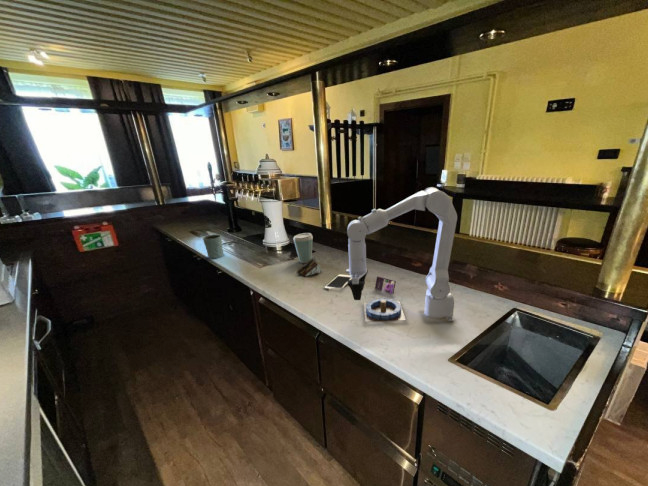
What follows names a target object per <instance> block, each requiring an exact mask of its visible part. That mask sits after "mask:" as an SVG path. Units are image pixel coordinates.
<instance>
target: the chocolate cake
mask: <svg viewBox="0 0 648 486" xmlns="http://www.w3.org/2000/svg"><path fill="white" fill-rule="evenodd" d="M295 272H296V274H297V275H301V276H303V277H304V278H305V277H309V276H314V275H315V274H320V273H321V272H322V269H321V266H320V264H318V262H317V260H316V258H315V256H312V259H310V260H309V261H308V262H307V263H303V264H302V265H301V266H300V267H299V268H297V270H296V271H295Z"/></svg>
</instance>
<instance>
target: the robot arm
mask: <svg viewBox="0 0 648 486" xmlns="http://www.w3.org/2000/svg"><path fill="white" fill-rule="evenodd" d="M426 209H427V210H428V211H429V212H431V213H432V214H434V215H435V216H436V218H437V219H438V220H439V221H438V227H437V233H436V240H435V246H434V253H433V258H432V264H431V266H430V267H429V272H428V274H427V275H426V277H425V279H424V280H425V285H426V286H427V289H426V291H425V299H424V312H423V313H424V315H425V316H426V317H429V318H431V319H442V318H446V319H447V321H448V322H453V321H454V319H453V318H454V309H455V297H454V295H453V294H452V293H451V286H450V283H449V282H450V276H449V265H450V260H451V255H452V248H453V244H454V239H455V233H456V228H457V222H458V214H457V213H458V212H457V211H456V209H455V207H454V204H453V201H452V198H451V197H450V196H449V195H448V194H447V193H445V192H444V191H442V190H439V189H438V188H437V187H434V186H430V187H426V188H425V189H424V190H420V191H417V192H415V193H414V194H412V195H410V196H408V197H406V198H405V199H403V200H401V201H399V202H398V203H396V204H394V205H392V206H390V207H388V208H386V209H382V208H378V209H376V208H373V209H371V212H370V213H368V214H366V215H364V216H358V217H357V219H354V220H351V221H350V222H349V223H348V225H347V230H346V234H347V237H348V239H347V240H348V241H347V242H348V244H347V247H348V249H347V250H348V251H347V252H348V266H349V267H348V268H347V269H346V270H345V273H346V274H348V275H350V276H351V277H352V279H351V280H348V283H347V285H348V288H349V289H350V291H351V294H352V297H353V300H354V301H361V299H362V294H363V291H364V287H365V284H366V278H367V275H368V274H369V273H368V272H369V270H368V269H367V244H366V237H367V235H371V234H373V233H375V232H377V231H379V230H381V229H383V228H385V227H387V226H388V224H389V222H390V220H393V219H396V218H397V217H399V216H402V215H403V214H406V213H409V212H410V211H413V210H417V211H423V212H425V211H426Z"/></svg>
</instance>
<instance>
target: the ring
mask: <svg viewBox="0 0 648 486" xmlns="http://www.w3.org/2000/svg"><path fill="white" fill-rule="evenodd" d="M381 300H386V305H388V306H392V307H393V308H395V310H394V311H392V312H389V313H379V312H375V311H374V310H372V308H373V307H375V306H378V305H381ZM367 303H368V304H367V305H366V313H367V315H369V316H370V317H372V318H375V319H379V320H380V319H381V320H389V318H390V319H393V318H396V317H397V316H399V315H400V313H401V307H402V304H401V303H400V304H401V305H400V304H399V303H398V302H396V300H394V299H390V298H376V299H373V300H370V301H368V302H367Z"/></svg>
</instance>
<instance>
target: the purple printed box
mask: <svg viewBox="0 0 648 486" xmlns="http://www.w3.org/2000/svg"><path fill="white" fill-rule="evenodd" d="M384 282H385V286H384ZM396 283H397V280H396V281H395V280H392V279H389V278H385V277H381V276H376V280H375V285H374V289H375V290H379V291H383V288H384V290H385V291H387V292H389V294H392V295H394V293H395V287H396ZM383 286H384V287H383Z"/></svg>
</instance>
